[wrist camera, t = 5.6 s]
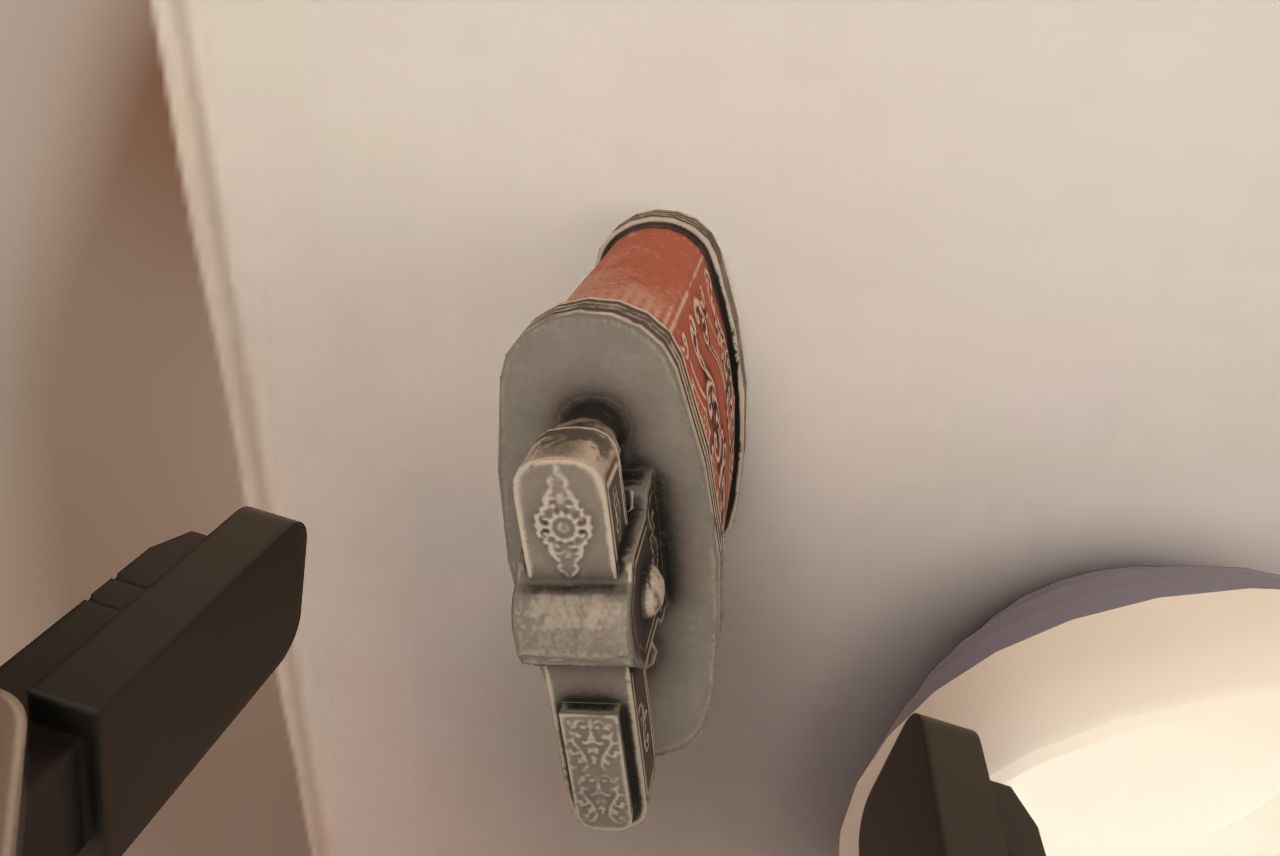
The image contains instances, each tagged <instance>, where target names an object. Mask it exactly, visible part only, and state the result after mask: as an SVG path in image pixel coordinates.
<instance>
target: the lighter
mask: <svg viewBox="0 0 1280 856" xmlns="http://www.w3.org/2000/svg"><path fill="white" fill-rule="evenodd" d="M745 429H746V376H745V368H744V361H743V353H742V346H741V338H740V331H739V323H738V316H737V312H736V308H735V304H734V300H733V296H732V293H731V289H730V285H729V281H728V277H727V273H726V270H725V266H724V262H723V258H722V254H721V251H720V248H719V246H718V244H717V242H716V240H715V238H714V236H713V234H712V232H711V231H710V230H709V229H707V228H706V227H705V226H704V225H703V224H702V223H701V222H700V221H699V220H697V219H695V218H693V217H691V216H688V215H686V214H683V213H681V212H679V211H669V210H653V211H648V212H644V213H640V214H636V215H635V216H633V217H631V218H630V219H628V220H626V221H625V222H623V223H622V224H620V225H619V226H618V227H617V228H616V229H615V230H614V231H613V233H612V234H611V235H610V236H609V238H608V239H607V240H606V241H605V243H604V244H603V245H602V247H601V248H600V250H599V253H598V257H597V260H596V264H595V268H594V269H593V270H592V272H591V273H590V274H589V275H588V276H587V277H586V279H585V280H584V281H583V282H582V283H581V285H580V286H579V287H578V288H577V289H576V291H575V292H574V293H573V294H572V295H571V297H570V298H569V299H568V300H567V301H566V302H563V303H560V304H558V305H556V306H555V307H553V308H551V309H550V310H548V311H546V312H545V313H543V314H541V315H540V316H538V317H536V318H535V320H534V321H533V322H532V323H531V324H530V325H529V326H528V327H527V328H526V330H525V331H524V332H523V333H522V334H521V335H520V337H519V338H518V339H517V341H516V342H515V343H514V344H513V346H512V347H511V348H510V350H509V351H508V352H507V353H506V356H505V360H504V364H503V368H502V372H501V376H500V406H499V455H498V473H499V483H500V492H501V501H502V510H503V519H504V528H505V538H506V547H507V556H508V562H509V566H510V570H511V573H512V577H513V581H514V585H515V588H514V592H513V599H512V630H513V635H514V641H515V646H516V651H517V655H518V657H519V659H520V660H521V662H522V663H524V664H534V665H535V666H540V668H541V670H542V673H543V675H544V678H545V680H546V683H547V685H548V691H549V696H550V702H551V707H552V713H553V719H554V724H555V730H556V735H557V741H558V747H559V752H560V758H561V763H562V769H563V774H564V780H565V786H566V791H567V797H568V801H569V804H570V807H571V809H572V811H573V812H574V813H575V815H576V816H577V817H578V819H579V821H580V822H581V823H582V825H584V826H586V827H588V828H591V829H597V830H607V831H620V830H625V829H628V828H629V827H631V826H634V825H636V824H639V823H641V822H642V820H643V819H644V817H645V816H646V813H647V807H648V802H649V797H650V792H651V787H652V782H653V777H654V772H655V766H656V756H658V755H665V754H667V753H670V752H673V751H676V750H679V749H681V748H684V747H685V746H687V745H688V744H689V743H690V742H692V741H693V740H694V739H695V738H696V737H698V736H699V735H700V734H701V731H702V729H703V727H704V725H705V723H706V720H707V718H708V712H709V705H710V699H711V692H712V686H713V680H714V673H715V667H716V661H717V654H718V648H719V641H720V633H721V625H722V617H723V538H724V537H725V536H726V535H727V534H728V533H729V531H730V529H731V526H732V524H733V521H734V517H735V511H736V504H737V498H738V492H739V485H740V479H741V472H742V466H743V459H744V451H745Z"/></svg>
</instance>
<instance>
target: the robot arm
mask: <svg viewBox="0 0 1280 856" xmlns="http://www.w3.org/2000/svg"><path fill="white" fill-rule="evenodd" d="M306 543H307V531H306V527H305V525H304V524H303V523H302V522H298V521H295V520H292V519H289V518H285V517H282V516H279V515H276V514H272V513H269V512H266V511H263V510H259V509H256V508H253V507H249V506H246V507H242V508H240V509H239V510H237V511H236V512H235V513H234V514H233V515H231V516H230V517H229V518H228V519H227V520H226V521H224V522H223V523H222V524H221V525H220V526H219V527H217V528H216V529H215V530H214V531H213V532H211V533H210V534H209V535H208V536H206V535H203V534H200V533H196V532H193V531H191V532H188V533H186V534H183V535H181V536H178V537H176V538H173V539H171V540H168V541H166V542H163V543H161V544H158V545H156V546H153V547H151V548H149V549H148V550H146V551H145V552H144V553H143V554H141V555H140V556H139V557H138V558H136V559H135V560H134V561H133V562H131V563H130V564H129V565H128V566H126V567H125V568H124V569H123V570H121V571H120V572H119V573H118V575H117V577H116V579H112V578H111V579H110V580H109V581H107V582H106V583H105V584H104V585H102V586H101V587H100V588H99V589H97V590H96V591H95V592H94V593H92V594H91V598H90V599H89V600H88V601H87V600H84V601H82V602H81V603H80V604H79V605H77V606H76V607H75V608H74V609H72V610H71V611H70V612H69V613H67V614H66V615H65V616H63V617H62V618H61V619H60V620H59V621H57V622H56V623H55V624H53V625H52V626H51V627H50V628H48V629H47V630H46V631H45V632H43V633H42V634H41V635H40V636H38V637H37V638H36V639H35V640H33V641H32V642H31V643H30V644H29V645H27V646H26V647H25V648H23V649H22V650H21V651H20V652H18V653H17V654H16V655H15V656H13V657H12V658H11V659H10V660H8V661H7V662H6V663H5V664H3V665H2V666H1V667H0V856H122V855H123V853H124V852H125V851H126V850H127V848H128V847H129V846H130V845H131V844H132V843H133V841H134V840H135V839H136V837H137V836H138V835H139V834H140V833H141V832H142V830H143V829H144V828H145V827H146V826H147V824H148V823H149V822H150V821H151V820H152V818H153V817H154V816H155V815H156V813H157V812H158V811H159V810H160V809H161V807H162V806H163V805H164V804H165V802H166V801H167V800H168V799H169V798H170V796H171V795H172V794H173V793H174V792H175V790H176V789H177V788H178V787H179V785H180V784H181V783H182V782H183V781H184V779H185V778H186V777H187V776H188V775H189V773H190V772H191V771H192V770H193V768H194V767H195V766H196V765H197V764H198V762H199V761H200V760H201V758H203V756H204V755H205V754H206V753H207V751H208V750H209V749H210V748H211V747H212V745H213V744H214V743H215V742H216V741H217V739H218V738H219V737H220V736H221V735H222V733H223V732H224V731H225V730H226V728H227V727H228V726H229V725H230V724H231V722H232V721H233V720H234V719H235V718H236V716H237V715H238V714H239V713H240V711H241V710H242V709H243V708H244V707H245V705H246V704H247V703H248V702H249V701H250V699H251V698H252V697H253V696H254V694H255V693H256V692H257V691H258V690H259V688H260V687H261V686H262V685H263V684H264V682H265V681H266V680H267V678H268V677H269V676H270V675H271V674H272V673H273V671H274V670H275V669H276V668H277V667H278V665H279V664H280V663H281V661H282V660H283V659H284V657H285V655H286V654H287V652H288V650H289V648H290V646H291V644H292V642H293V640H294V637H295V635H296V632H297V629H298V625H299V621H300V615H301V604H302V592H303V580H304V568H305V555H306ZM859 856H1046V853H1045V850H1044V846H1043V843H1042V839H1041V836H1040V832H1039V829H1038V826H1037V825H1036V823H1035V822H1034V820H1033V819H1032V817H1031V816H1030V814H1029V813H1028V811H1027V810H1026V808H1025V807H1024V805H1023V804H1022V802H1021V801H1020V799H1019V798H1018V796H1017V795H1016V794H1015V792H1014V791H1013V789H1012V788H1011V787H1010V786H1007V785H1004V784H1001V783H997V782H994V781H991V780H990V778H989V774H988V769H987V765H986V761H985V757H984V753H983V749H982V745H981V741H980V738H979V736H978V734H977V733H976V732H975V731H973V730H970V729H967V728H964V727H960V726H957V725H954V724H951V723H947V722H944V721H941V720H938V719H934V718H931V717H928V716H924V715H921V714H918V713H914V714H912V715H911V716H910V717H909V718H908V719H907V720H906V722H905V724H904V726H903V728H902V730H901V732H900V734H899V736H898V738H897V740H896V742H895V744H894V746H893V748H892V750H891V751H890V753H889V755H888V757H887V759H886V761H885V763H884V765H883V767H882V769H881V771H880V773H879V775H878V777H877V779H876V781H875V783H874V785H873V787H872V789H871V791H870V793H869V795H868V798H867V800H866V803H865V806H864V810H863V814H862V818H861V823H860V830H859Z"/></svg>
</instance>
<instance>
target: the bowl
mask: <svg viewBox="0 0 1280 856" xmlns="http://www.w3.org/2000/svg"><path fill="white" fill-rule="evenodd" d="M914 713H918V714H921V715H924V716H928V717H931V718H934V719H938V720H941V721H944V722H947V723H951V724H954V725H957V726H960V727H964V728H967V729H970V730H973V731H975V732H976V733H977V734H978V736H979V738H980V741H981V745H982V749H983V753H984V757H985V761H986V765H987V769H988V774H989V778H990V780H991V781H994V782H997V783H1001V784H1004V785H1007V786H1010V787H1011V788H1012V789H1013V791H1014V792H1015V794H1016V795H1017V796H1018V798H1019V799H1020V801H1021V802H1022V804H1023V805H1024V807H1025V808H1026V810H1027V811H1028V813H1029V814H1030V816H1031V817H1032V819H1033V820H1034V822H1035V823H1036V825H1037V826H1038V829H1039V832H1040V836H1041V839H1042V843H1043V846H1044V850H1045V853H1046V856H1280V575H1276V574H1271V573H1266V572H1261V571H1256V570H1251V569H1246V568H1232V567H1206V566H1181V565H1180V566H1171V567H1151V566H1132V567H1123V568H1114V569H1105V570H1096V571H1093V572H1089V573H1085V574H1081V575H1078V576H1074V577H1070V578H1067V579H1063V580H1059V581H1056V582H1054V583H1052V584H1050V585H1047V586H1045V587H1043V588H1041V589H1038V590H1036V591H1034V592H1032V593H1029V594H1027V595H1025V596H1023V597H1021V598H1020V599H1018V600H1017V601H1015V602H1014V603H1012V604H1011V605H1009V606H1008V607H1006V608H1005V609H1003V610H1002V611H1000V612H999V613H997V614H996V615H994V616H993V617H992V618H991V619H990V620H989V621H988V622H987V623H986V624H985V625H984V626H983V627H982V628H981V629H979V630H978V631H976V632H975V633H973V634H972V635H970V636H969V637H967V638H966V639H964V640H963V641H962V642H961V643H960V644H959V645H958V646H957V647H956V648H955V649H954V650H953V651H952V652H951V653H950V654H949V655H948V656H947V657H946V658H945V659H944V660H942V661H941V662H940V663H939V664H938V665H937V666H936V667H935V668H934V669H933V670H932V671H931V672H930V673H929V675H928V676H927V678H926V679H925V681H924V682H923V684H922V685H921V687H920V688H919V690H918V691H917V693H916V694H915V696H914V697H913V698H912V699H911V700H910V701H909V702H908V703H907V704H906V705H905V706H904V708H903V709H902V711H901V712H900V714H899V715H898V717H897V719H896V720H895V722H894V723H893V725H892V726H891V728H890V729H889V731H888V732H887V734H886V735H885V737H884V738H883V740H882V741H881V743H880V744H879V746H878V748H877V750H876V752H875V754H874V756H873V757H872V759H871V761H870V763H869V765H868V767H867V769H866V770H865V772H864V773H863V775H862V776H861V778H860V780H859V781H858V783H857V784H856V787H855V790H854V793H853V796H852V799H851V802H850V805H849V808H848V811H847V814H846V816H845V819H844V822H843V825H842V828H841V831H840V842H839V856H859V830H860V823H861V818H862V814H863V810H864V806H865V803H866V800H867V798H868V795H869V793H870V791H871V789H872V787H873V785H874V783H875V781H876V779H877V777H878V775H879V773H880V771H881V769H882V767H883V765H884V763H885V761H886V759H887V757H888V755H889V753H890V751H891V750H892V748H893V746H894V744H895V742H896V740H897V738H898V736H899V734H900V732H901V730H902V728H903V726H904V724H905V722H906V720H907V719H908V718H909V717H910V716H911V715H912V714H914Z"/></svg>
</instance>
